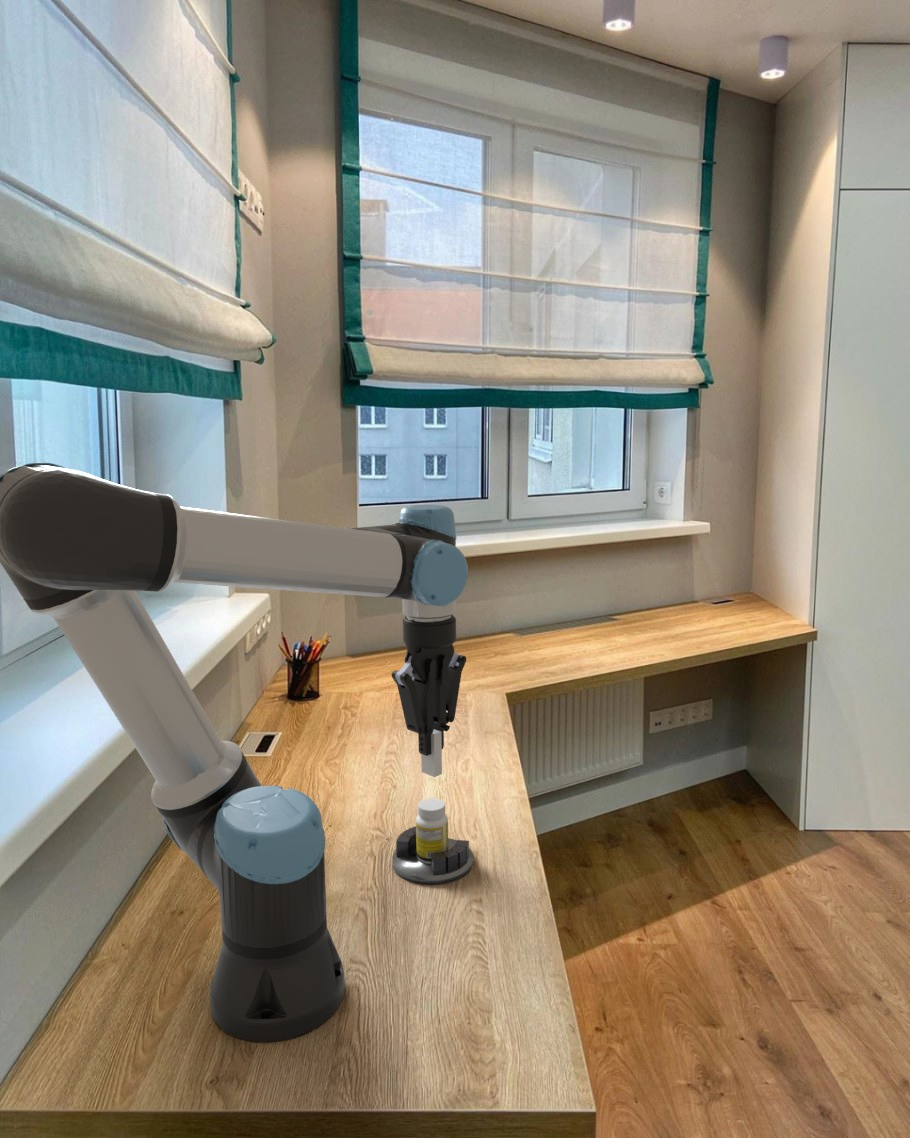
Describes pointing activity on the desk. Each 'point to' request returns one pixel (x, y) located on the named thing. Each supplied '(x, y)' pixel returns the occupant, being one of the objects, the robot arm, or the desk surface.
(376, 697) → the desk surface
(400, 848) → the toothed grey disc
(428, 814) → the supplement bottle
